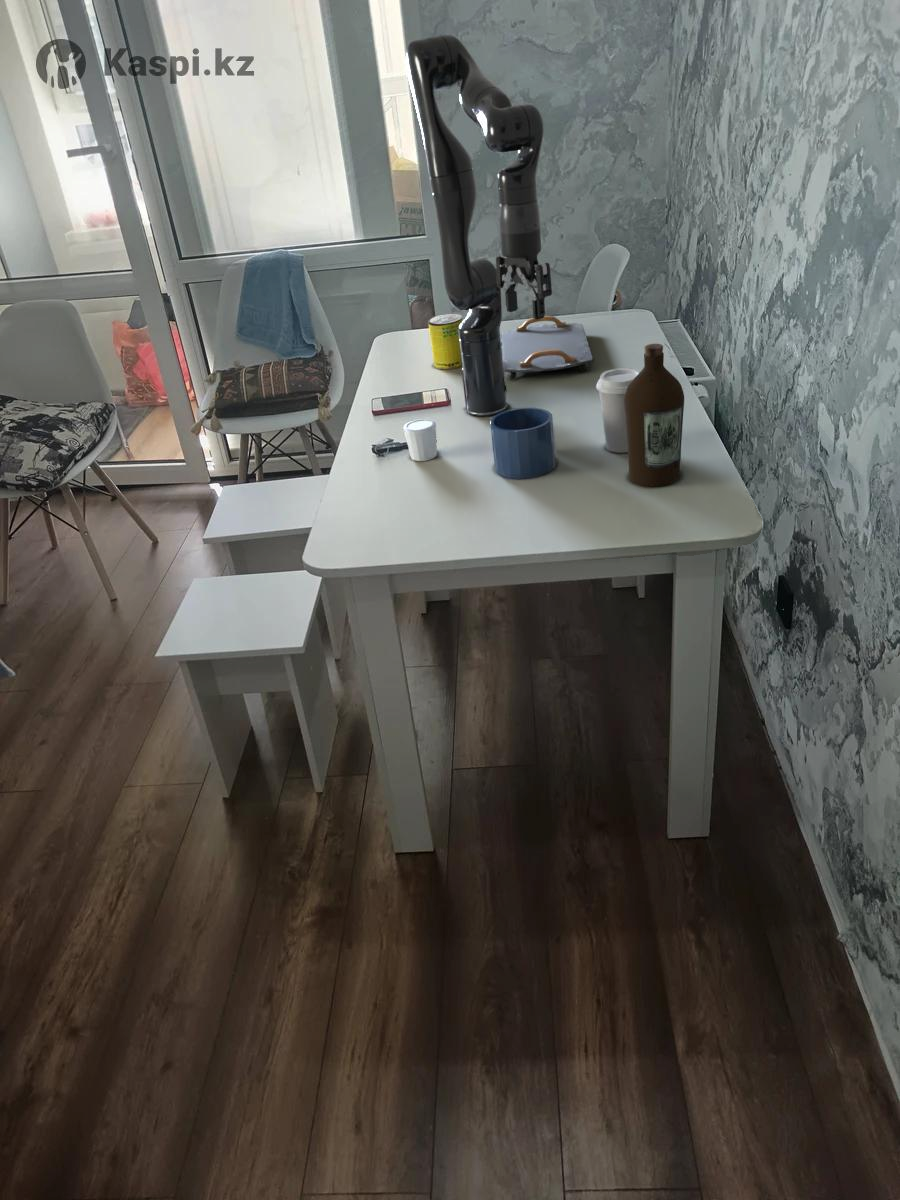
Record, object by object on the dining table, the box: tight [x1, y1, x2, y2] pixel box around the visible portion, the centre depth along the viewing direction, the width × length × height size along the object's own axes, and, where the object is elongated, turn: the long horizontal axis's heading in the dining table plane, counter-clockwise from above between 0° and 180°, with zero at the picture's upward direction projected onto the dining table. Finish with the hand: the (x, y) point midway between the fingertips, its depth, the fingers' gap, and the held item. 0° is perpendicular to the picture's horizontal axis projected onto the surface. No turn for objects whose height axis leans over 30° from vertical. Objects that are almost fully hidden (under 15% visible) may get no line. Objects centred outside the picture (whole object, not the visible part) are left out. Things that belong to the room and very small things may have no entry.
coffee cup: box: [595, 367, 641, 454], centre depth 182 cm, size 10×10×15 cm
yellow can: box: [427, 313, 463, 370], centre depth 243 cm, size 9×9×12 cm
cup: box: [489, 407, 556, 480], centre depth 181 cm, size 12×12×10 cm
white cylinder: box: [403, 418, 438, 462], centre depth 193 cm, size 7×7×7 cm
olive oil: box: [624, 343, 685, 488], centre depth 166 cm, size 11×11×25 cm
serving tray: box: [500, 315, 594, 381], centre depth 240 cm, size 39×23×6 cm, turn 178°
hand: (525, 314), depth 178 cm, fingers open, 8 cm apart
